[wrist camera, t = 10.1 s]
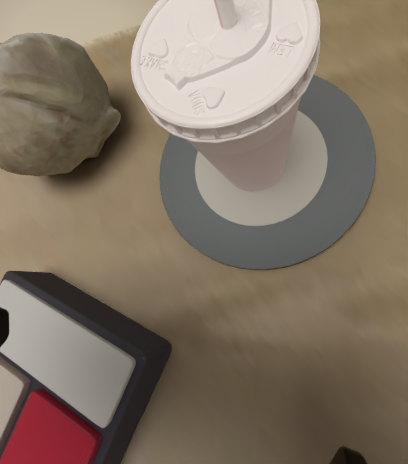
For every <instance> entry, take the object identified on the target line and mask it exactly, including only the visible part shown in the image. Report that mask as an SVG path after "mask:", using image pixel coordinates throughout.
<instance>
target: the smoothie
mask: <svg viewBox="0 0 408 464" xmlns="http://www.w3.org/2000/svg"><path fill="white" fill-rule="evenodd" d="M319 34H320V14H319V9H318V5H317V2H316V0H159V1H158V2H157V3H156V4H155V5H154V7H153V8H152V9H151V10H150V12H149V13H148V15H147V16H146V18H145V20H144V21H143V23H142V25H141V27H140V29H139V31H138V33H137V36H136V39H135V42H134V46H133V50H132V57H131V72H132V78H133V83H134V86H135V88H136V91H137V93H138V95H139V97H140V98H141V100H142V101H143V103H144V104H145V107H146V109H147V110H148V111H149V113H150V114H151V116H152V117H153V118H154V120H155V121H156V123H157V124H159V125H160V126H161V127H163V128H164V129H166V130H167V131H168V132H170V133H171V134H172V135H174V136H177V137H180V138H183V139H186V140H187V141H188V142H190V143H191V144H192V145H193V146H194V147H195V148H196V149H197V150H198V151H199V152H200V153H201V154H202V155H203V156H204V157H205V158H206V159H207V160H208V161H209V162H210V163H211V164H212V165H213V166H214V167H215V168H216V169H217V170H218V171H219V172H220V173H221V174H222V175H224V176H225V177H226V178H227V179H228V180H229V181H230V182H231V183H232V184H233V185H234V186H235V187H237V188H238V189H241V190H243V191H248V192H257V191H262V190H265V189H267V188H269V187H271V186H272V185H273V184H275V183H276V182H277V181H278V180H279V178H280V177H281V175H282V173H283V171H284V168H285V164H286V159H287V155H288V151H289V146H290V142H291V137H292V133H293V128H294V124H295V119H296V115H297V111H298V106H299V102H300V99H301V96H302V95H303V94H304V93H305V91H306V90H307V88H308V85H309V83H310V81H311V79H312V77H313V75H314V73H315V71H316V69H317V64H318V57H319V51H320V45H321V44H320V38H319Z"/></svg>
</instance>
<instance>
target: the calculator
mask: <svg viewBox="0 0 408 464" xmlns="http://www.w3.org/2000/svg"><path fill="white" fill-rule="evenodd" d="M0 307H1V308H4V309H6V310H7V311H8V312H9V336H8V338H7V340H6V341H5V343H4V344H3V345H2V346H1V347H0V464H120V462H121V460H122V458H123V455H124V453H125V451H126V448H127V446H128V444H129V441H130V439H131V437H132V435H133V432H134V430H135V428H136V425H137V423H138V421H139V419H140V417H141V416H142V414H143V412H144V410H145V408H146V406H147V404H148V402H149V400H150V397H151V395H152V393H153V391H154V388H155V386H156V384H157V382H158V380H159V377H160V375H161V373H162V371H163V368H164V366H165V364H166V362H167V360H168V357H169V355H170V353H171V344H170V343H169V342H168V341H167V340H165V339H163V338H162V337H160V336H158V335H157V334H155V333H153V332H152V331H150V330H148V329H146V328H145V327H143V326H141V325H139V324H138V323H136V322H134V321H133V320H131V319H129V318H127V317H126V316H124V315H122V314H121V313H119V312H117V311H115V310H114V309H112V308H110V307H109V306H107V305H105V304H103V303H102V302H100V301H98V300H97V299H95V298H93V297H91V296H90V295H88V294H86V293H85V292H83V291H81V290H79V289H78V288H76V287H74V286H72V285H71V284H69V283H67V282H66V281H64V280H62V279H60V278H59V277H57V276H55V275H54V274H52V273H43V272H25V271H8V272H7V273H6V274H5V275H4V277H3V279H2V281H1V283H0Z"/></svg>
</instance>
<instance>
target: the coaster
mask: <svg viewBox="0 0 408 464" xmlns="http://www.w3.org/2000/svg"><path fill="white" fill-rule="evenodd" d="M375 163H376V155H375V147H374V141H373V137H372V134H371V130H370V128H369V126H368V123H367V121H366V119H365V117H364V115H363V114H362V112H361V111H360V110H359V108H358V107H357V105H356V104H355V103H354V102H353V101H352V100H351V99H350V98H349V96H348V95H346V94H345V93H344V92H343V91H341V90H340V89H339V88H338V87H336V86H334V85H333V84H331V83H329V82H328V81H326V80H324V79H321V78H319V77H317V76H315V75H313V77H312V79H311V81H310V83H309V85H308V88H307V90H306V91H305V93H304V94H303V95H302V96H301V99H300V102H299V106H298V111H297V115H296V119H295V124H294V128H293V133H292V137H291V142H290V146H289V151H288V155H287V159H286V164H285V168H284V171H283V173H282V175H281V177H280V178H279V180H278V181H277V182H276V183H275V184H273V185H272V186H271V187H269V188H267V189H265V190H262V191H257V192H248V191H243V190H241V189H238V188H237V187H235V186H234V185H233V184H232V183H231V182H230V181H229V180H228V179H227V178H226V177H225V176H224V175H222V174H221V173H220V172H219V171H218V170H217V169H216V168H215V167H214V166H213V165H212V164H211V163H210V162H209V161H208V160H207V159H206V158H205V157H204V156H203V155H202V154H201V153H200V152H199V151H198V150H197V149H196V148H195V147H194V146H193V145H192V144H191V143H190V142H188V141H187V140H186V139H183V138H180V137H177V136H174V135H172V134H171V133H170V135H169V138H168V140H167V142H166V145H165V148H164V151H163V155H162V160H161V166H160V189H161V195H162V199H163V203H164V206H165V209H166V211H167V214H168V216H169V218H170V220H171V221H172V223H173V225H174V226H175V228H176V229H177V231H178V232H179V233H180V235H181V236H182V237H183V238H184V239H185V240H186V241H187V242H188V243H189V244H190V245H192V246H193V247H194V248H196V249H197V250H198V251H200V252H201V253H203V254H205V255H206V256H208V257H210V258H212V259H214V260H216V261H218V262H221V263H223V264H226V265H229V266H233V267H237V268H243V269H252V270H270V269H276V268H283V267H287V266H291V265H294V264H298V263H300V262H303V261H305V260H307V259H310V258H312V257H314V256H316V255H317V254H319V253H321V252H322V251H324V250H326V249H327V248H328V247H330V246H331V245H332V244H333V243H335V242H336V241H337V240H339V238H340V237H341V236H342V235H343V234H344V233H345V232H346V231H347V230H348V229H349V228H350V227H351V225H352V224H353V223H354V221H355V220H356V218H357V217H358V216H359V214H360V213H361V211H362V209H363V207H364V205H365V203H366V201H367V199H368V196H369V194H370V191H371V188H372V185H373V180H374V175H375Z"/></svg>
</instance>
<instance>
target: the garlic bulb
mask: <svg viewBox="0 0 408 464" xmlns="http://www.w3.org/2000/svg"><path fill="white" fill-rule="evenodd" d="M120 118H121V115H120V113H119V111H118V110H116V109H114V108H113V107H112V106H111V103H110V97H109V93H108V87H107V84H106V82H105V81H104V79H103V77H102V76H101V74H100V73H99V71H98V70H97V68H96V67H95V65H94V64H93V62H92V61H91V59H90V57H89V56H88V54H87V52H86V50H85V49H84V47H82V46H81V45H79V44H77V43H76V42H74V41H72V40H70V39H68V38H63V37H59V36H55V35H51V34H43V33H41V34H40V33H36V34H35V33H26V34H21V35H16V36H13V37H12V38H10V39H9V40H7V41H5V42H4V43H0V168H1V169H3V170H5V171H8V172H11V173H15V174H20V175H33V176H41V175H56V174H59V173H69V172H71V171H72V170H73V169H74V168H75V167H77V166H78V165H79V164H80V163H81V162H82V161H83V160H84V159H86V158H95V157H97V156H98V155H99V154H100V152H101V149H102V148H103V144H104V142H105V140H106V139H107V138H108V137H109V136H110V135H111V133H112V132H113V131H114V130H115V128H116V127H117V125H118V123H119V121H120Z"/></svg>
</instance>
